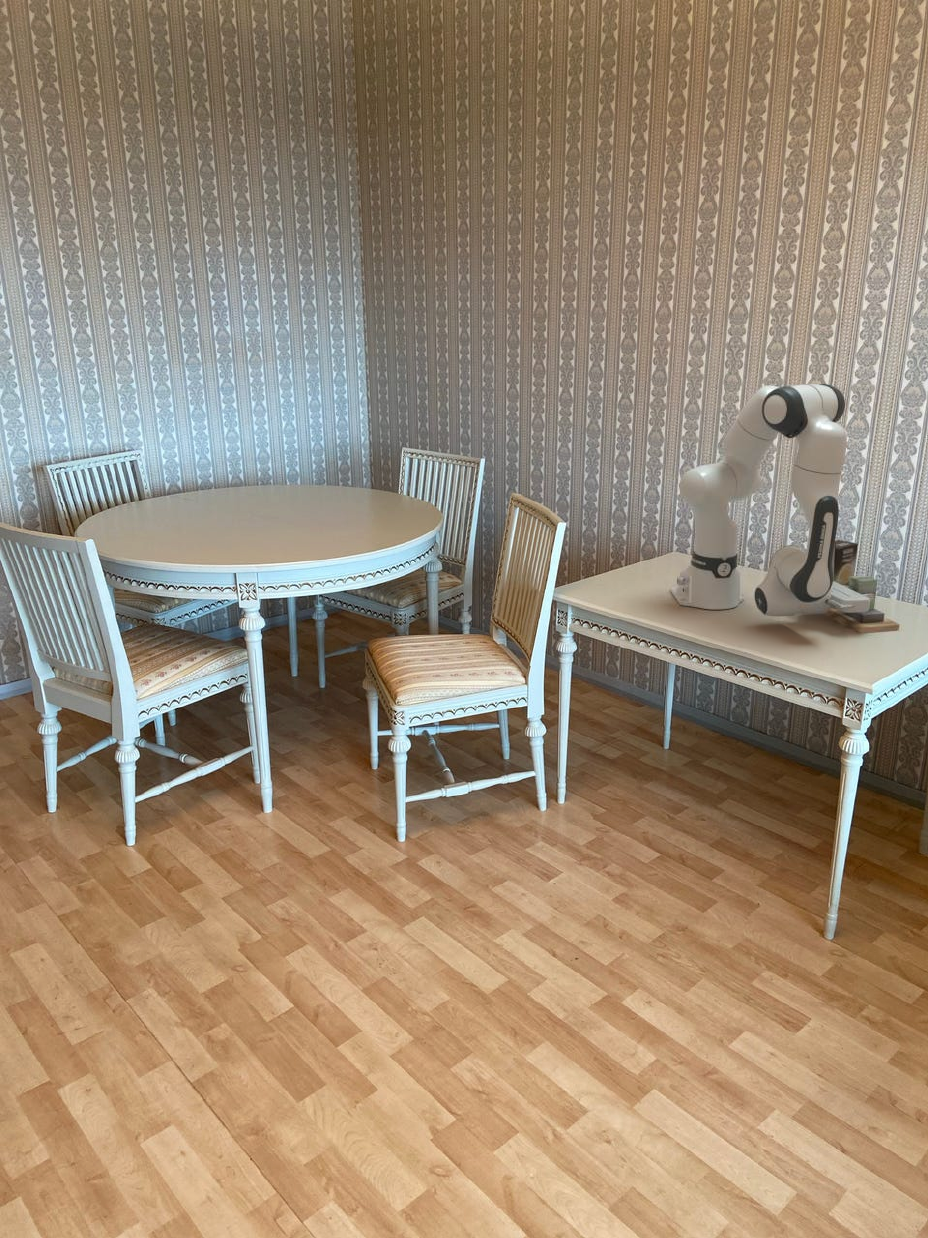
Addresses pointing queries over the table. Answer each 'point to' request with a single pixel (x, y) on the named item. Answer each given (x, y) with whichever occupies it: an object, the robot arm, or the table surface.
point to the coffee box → (844, 561)
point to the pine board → (860, 626)
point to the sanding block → (862, 586)
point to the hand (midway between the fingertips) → (864, 593)
